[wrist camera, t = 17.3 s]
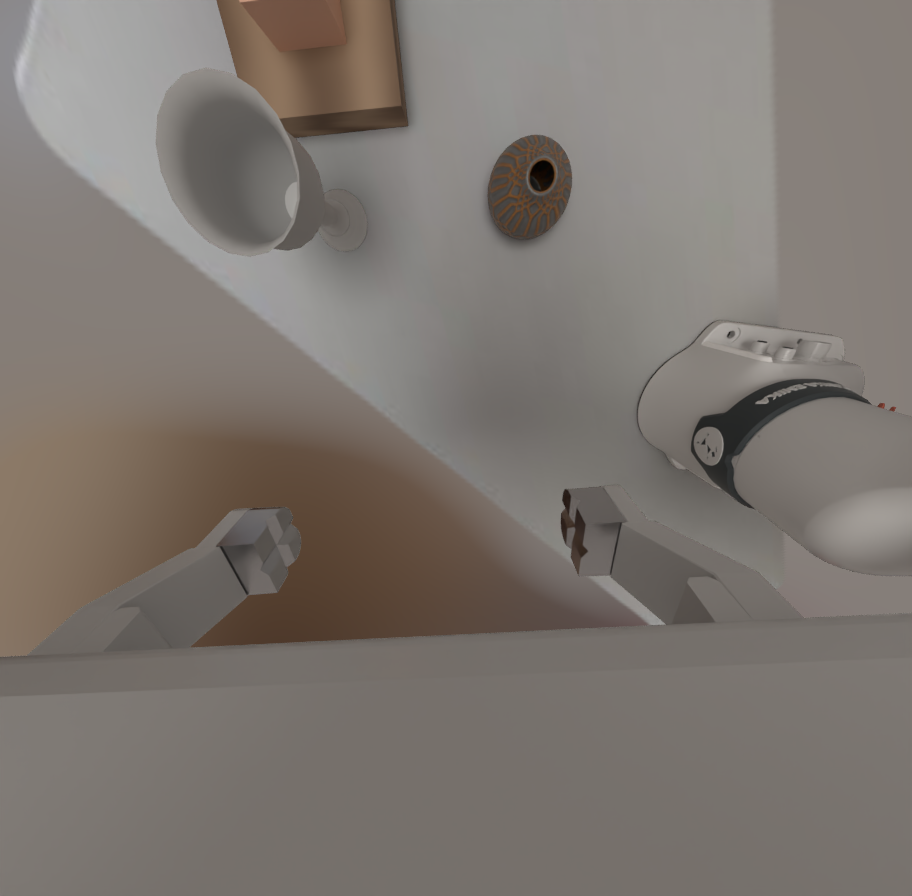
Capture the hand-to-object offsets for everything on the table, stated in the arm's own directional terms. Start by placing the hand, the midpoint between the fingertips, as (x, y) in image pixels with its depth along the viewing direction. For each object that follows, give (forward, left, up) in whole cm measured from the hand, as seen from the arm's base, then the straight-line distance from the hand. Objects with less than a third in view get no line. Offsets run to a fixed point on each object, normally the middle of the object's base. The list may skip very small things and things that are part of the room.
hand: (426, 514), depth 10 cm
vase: (-8, -12, -31) cm, 35 cm away
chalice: (+9, -12, -31) cm, 35 cm away
